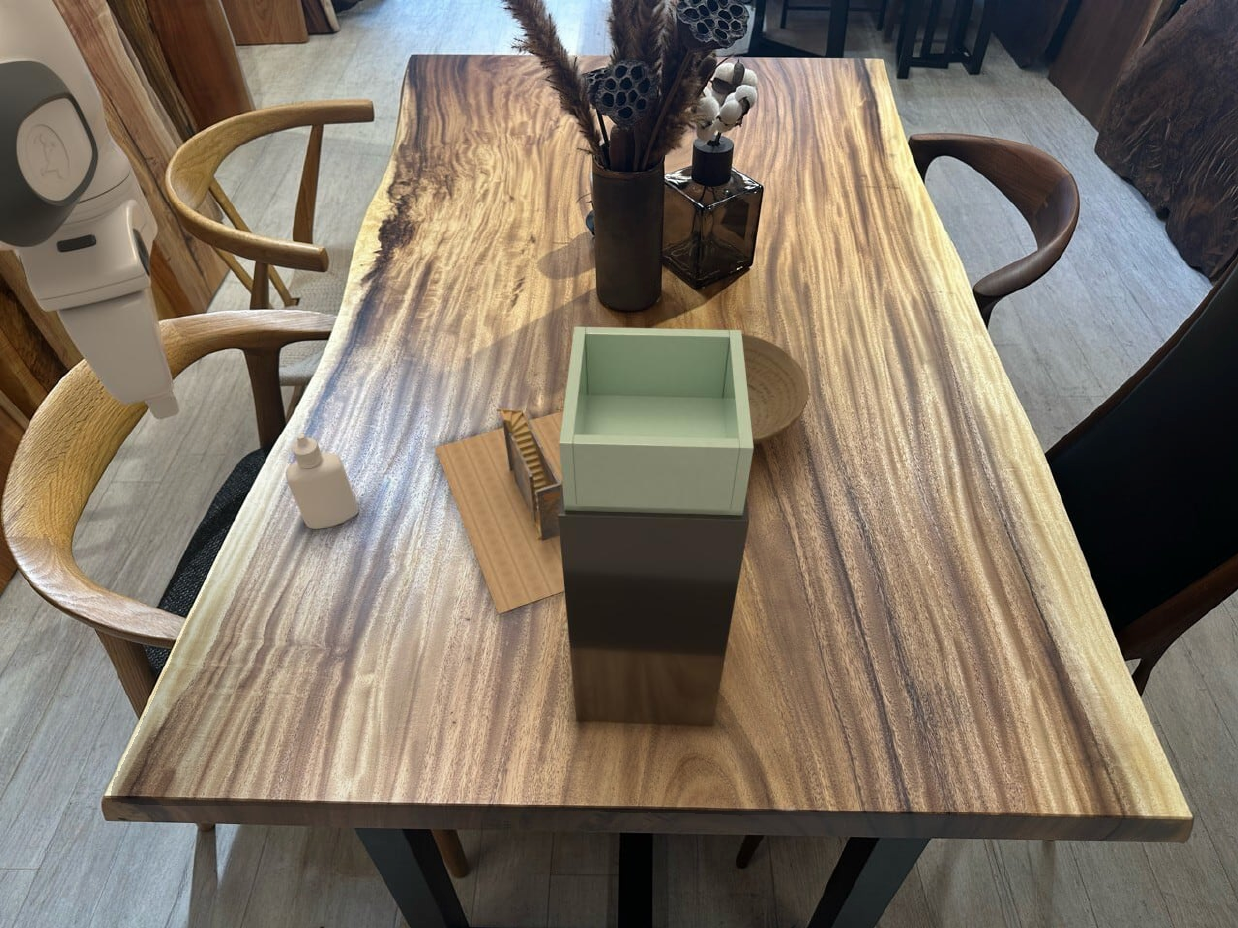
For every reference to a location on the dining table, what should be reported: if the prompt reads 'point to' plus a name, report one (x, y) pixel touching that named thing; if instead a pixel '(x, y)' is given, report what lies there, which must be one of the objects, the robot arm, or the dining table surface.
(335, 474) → the eye dropper bottle
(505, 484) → the ruin model on sheet
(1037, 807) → the dining table surface
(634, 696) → the square pedestal with tray
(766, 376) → the bowl
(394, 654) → the dining table surface
